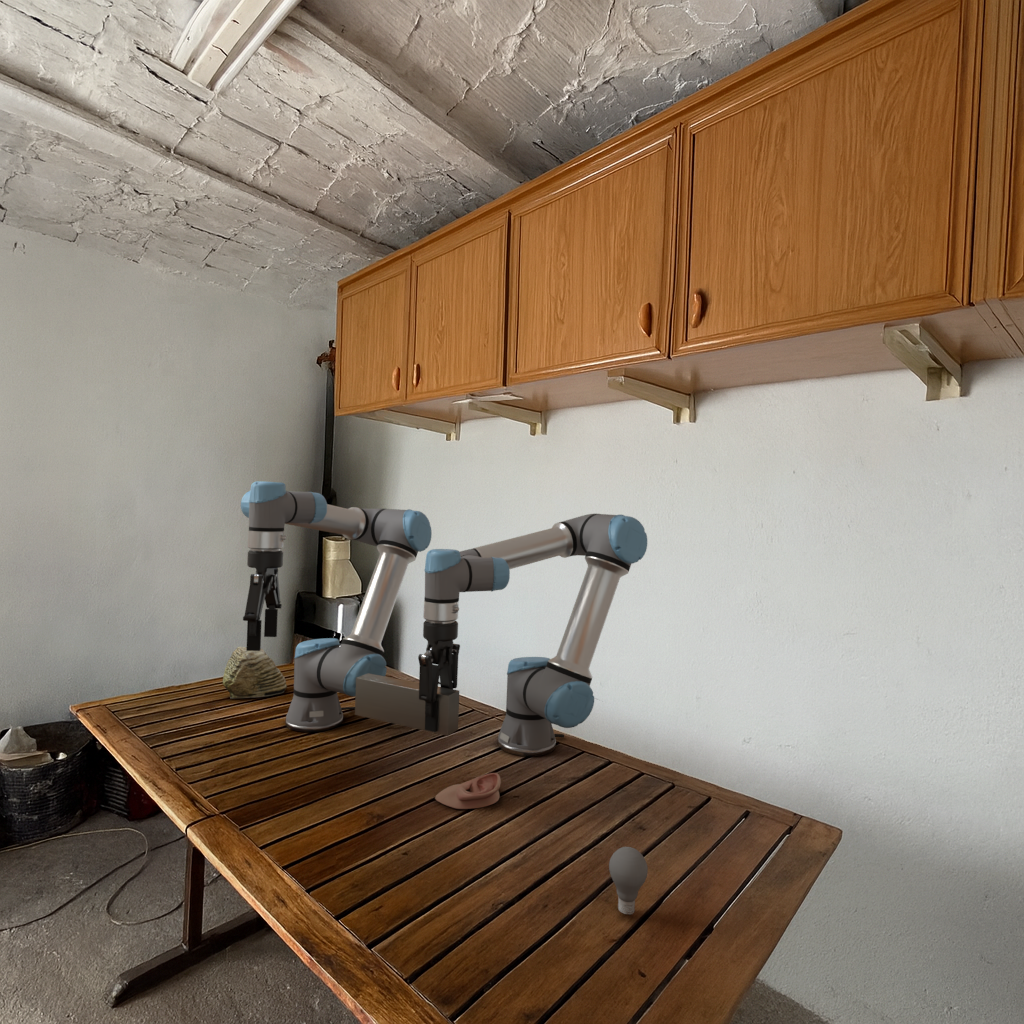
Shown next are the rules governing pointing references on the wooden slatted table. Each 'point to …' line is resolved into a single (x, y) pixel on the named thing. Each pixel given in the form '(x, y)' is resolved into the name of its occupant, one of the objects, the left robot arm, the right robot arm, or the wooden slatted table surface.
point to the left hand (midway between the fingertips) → (262, 643)
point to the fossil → (252, 675)
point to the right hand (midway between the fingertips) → (437, 726)
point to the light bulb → (627, 876)
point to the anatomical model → (472, 793)
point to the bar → (404, 703)
